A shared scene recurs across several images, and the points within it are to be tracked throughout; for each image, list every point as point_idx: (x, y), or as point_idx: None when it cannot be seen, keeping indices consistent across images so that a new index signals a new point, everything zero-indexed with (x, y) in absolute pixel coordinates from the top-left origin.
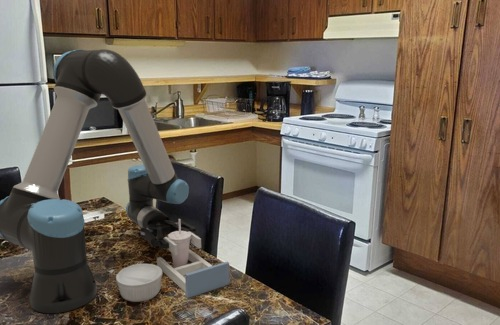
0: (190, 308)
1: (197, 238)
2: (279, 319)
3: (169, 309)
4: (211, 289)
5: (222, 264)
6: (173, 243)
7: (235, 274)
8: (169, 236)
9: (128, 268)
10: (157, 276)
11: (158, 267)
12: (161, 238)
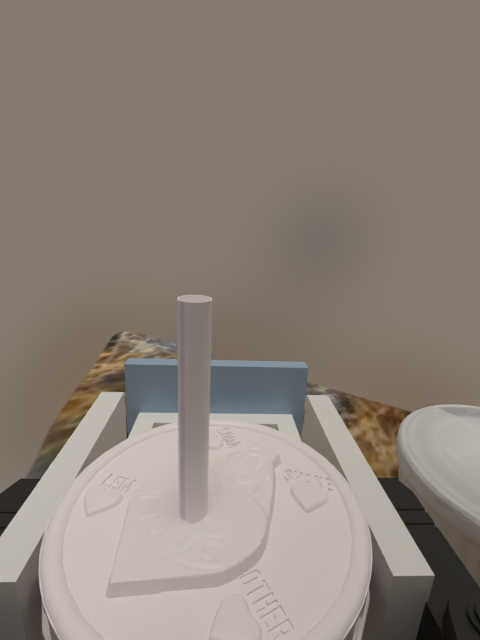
0: (304, 407)
1: (116, 402)
2: (165, 342)
3: (362, 423)
4: None
5: (155, 360)
6: (328, 414)
7: (45, 471)
8: (350, 531)
9: None
10: (419, 416)
11: (425, 468)
12: (475, 588)
